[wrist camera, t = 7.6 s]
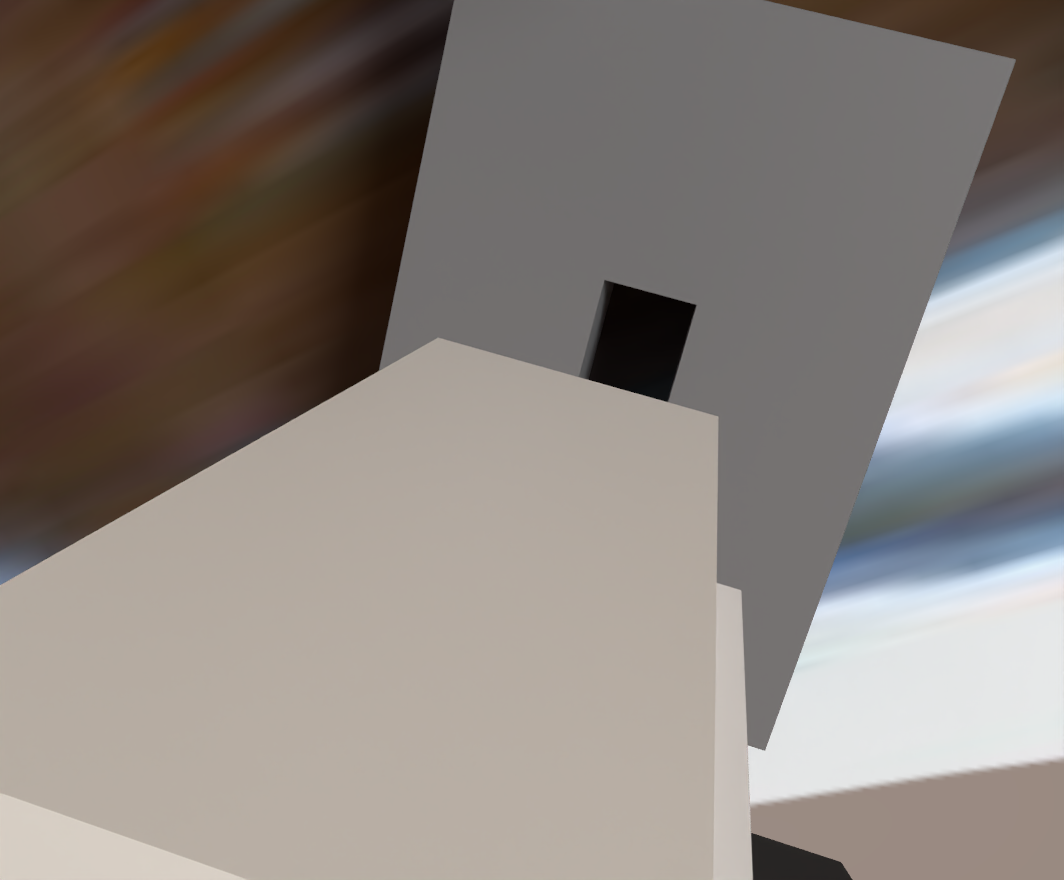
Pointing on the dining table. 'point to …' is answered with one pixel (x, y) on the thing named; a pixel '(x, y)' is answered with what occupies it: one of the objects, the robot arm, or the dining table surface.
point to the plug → (384, 648)
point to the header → (706, 239)
